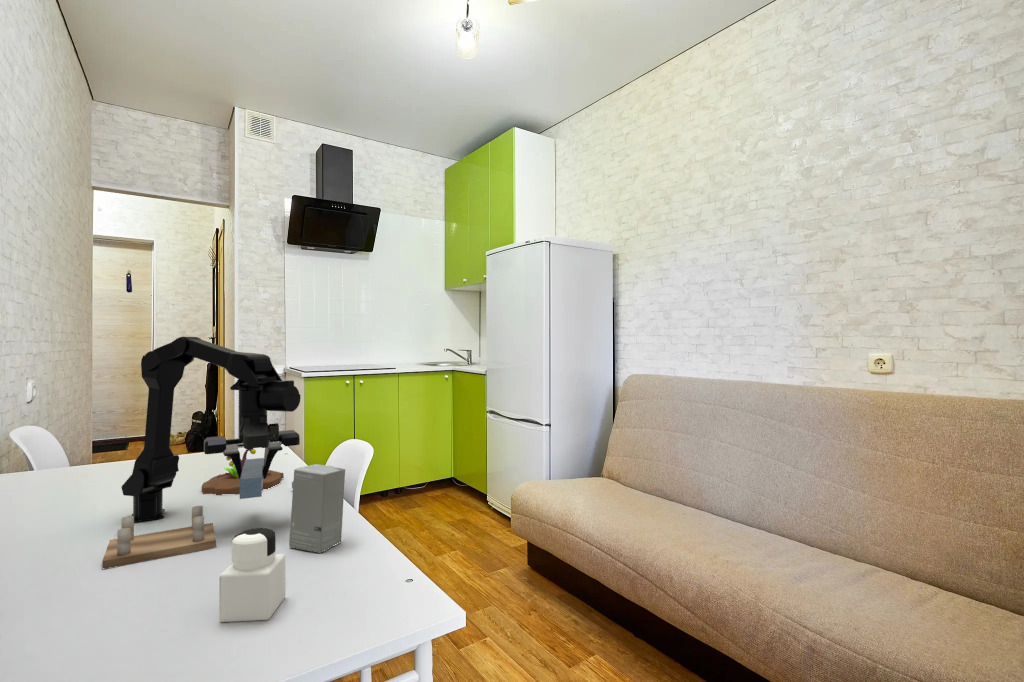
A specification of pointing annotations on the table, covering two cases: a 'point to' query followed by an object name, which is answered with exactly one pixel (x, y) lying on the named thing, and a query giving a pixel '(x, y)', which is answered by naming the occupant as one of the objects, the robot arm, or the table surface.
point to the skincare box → (317, 507)
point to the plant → (237, 479)
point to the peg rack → (158, 541)
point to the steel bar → (252, 478)
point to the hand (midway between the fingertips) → (252, 480)
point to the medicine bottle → (252, 577)
